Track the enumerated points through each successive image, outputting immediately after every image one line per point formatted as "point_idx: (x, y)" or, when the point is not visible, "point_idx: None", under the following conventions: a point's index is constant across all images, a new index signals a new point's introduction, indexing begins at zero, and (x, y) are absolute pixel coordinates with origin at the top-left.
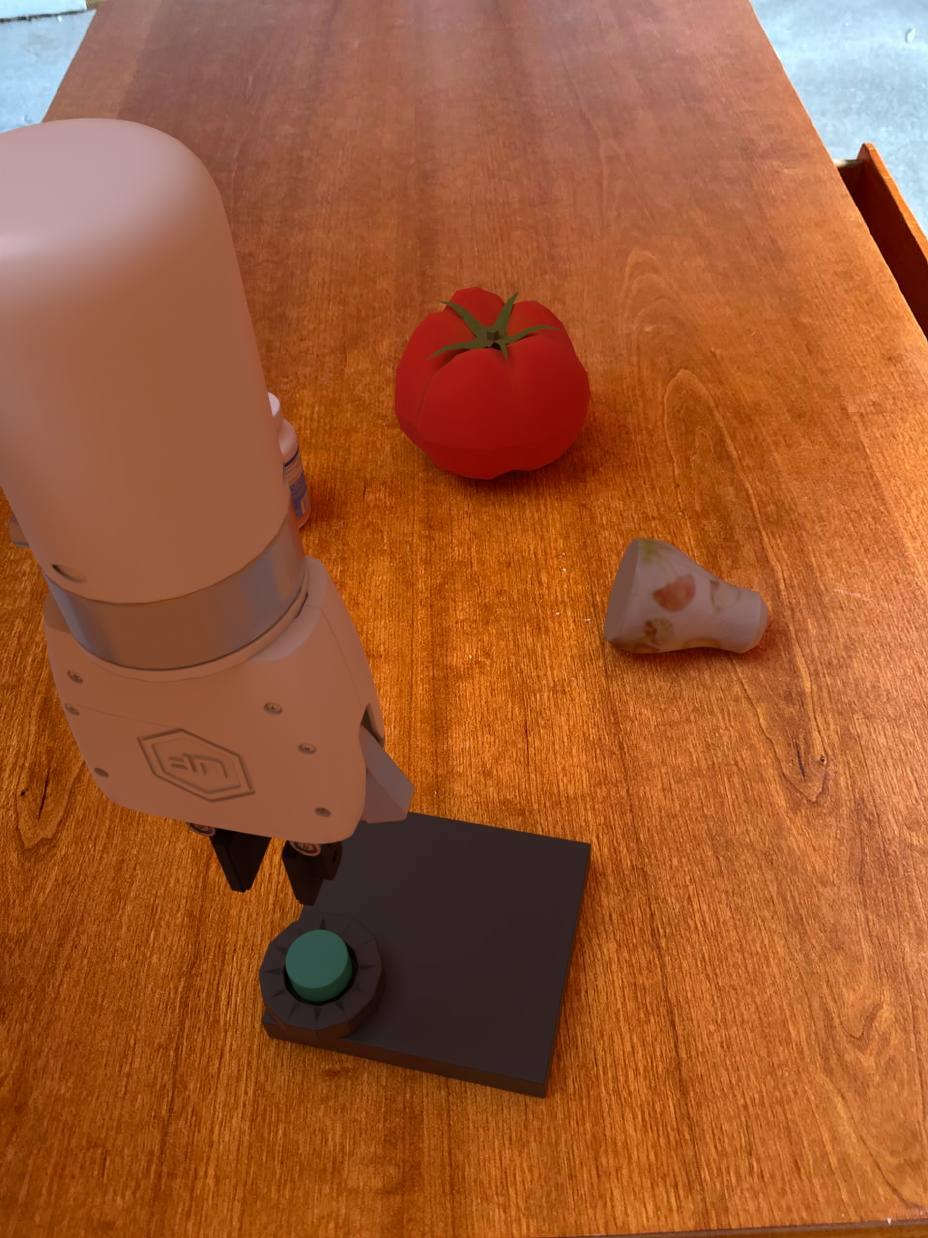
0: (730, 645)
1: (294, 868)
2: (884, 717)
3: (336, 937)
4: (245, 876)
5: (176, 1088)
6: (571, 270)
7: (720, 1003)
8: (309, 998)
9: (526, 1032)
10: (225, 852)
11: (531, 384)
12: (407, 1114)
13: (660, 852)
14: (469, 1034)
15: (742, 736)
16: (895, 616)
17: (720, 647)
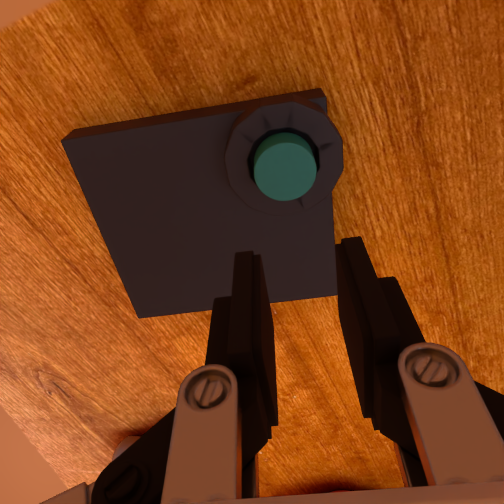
0: (129, 444)
1: (237, 327)
2: (33, 420)
3: (275, 197)
4: (341, 267)
5: (390, 3)
6: None
7: (6, 241)
8: (281, 134)
9: (98, 175)
10: (370, 320)
11: None
12: (169, 71)
13: (105, 319)
14: (140, 157)
15: (101, 393)
16: (63, 466)
17: (136, 440)
